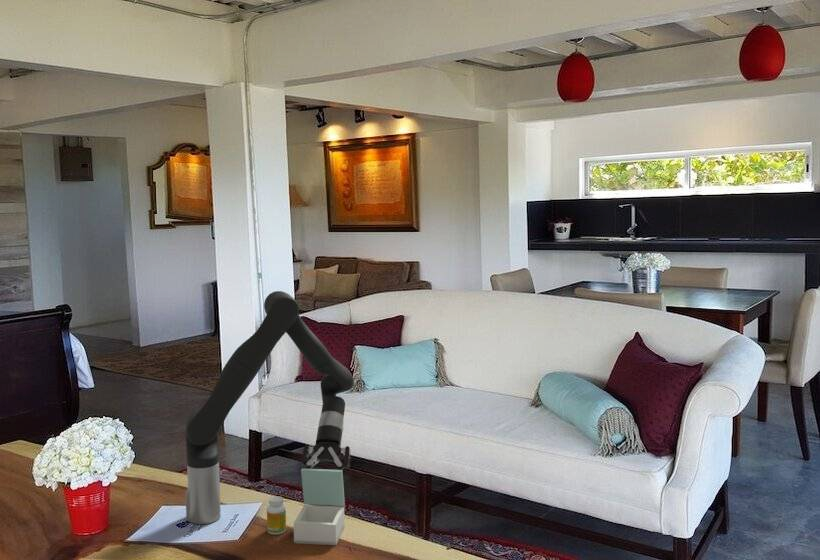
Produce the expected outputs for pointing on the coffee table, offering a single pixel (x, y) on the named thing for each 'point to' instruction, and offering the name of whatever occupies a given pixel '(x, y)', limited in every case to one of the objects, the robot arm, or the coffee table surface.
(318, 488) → the lid
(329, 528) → the storage box
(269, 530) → the supplement bottle
